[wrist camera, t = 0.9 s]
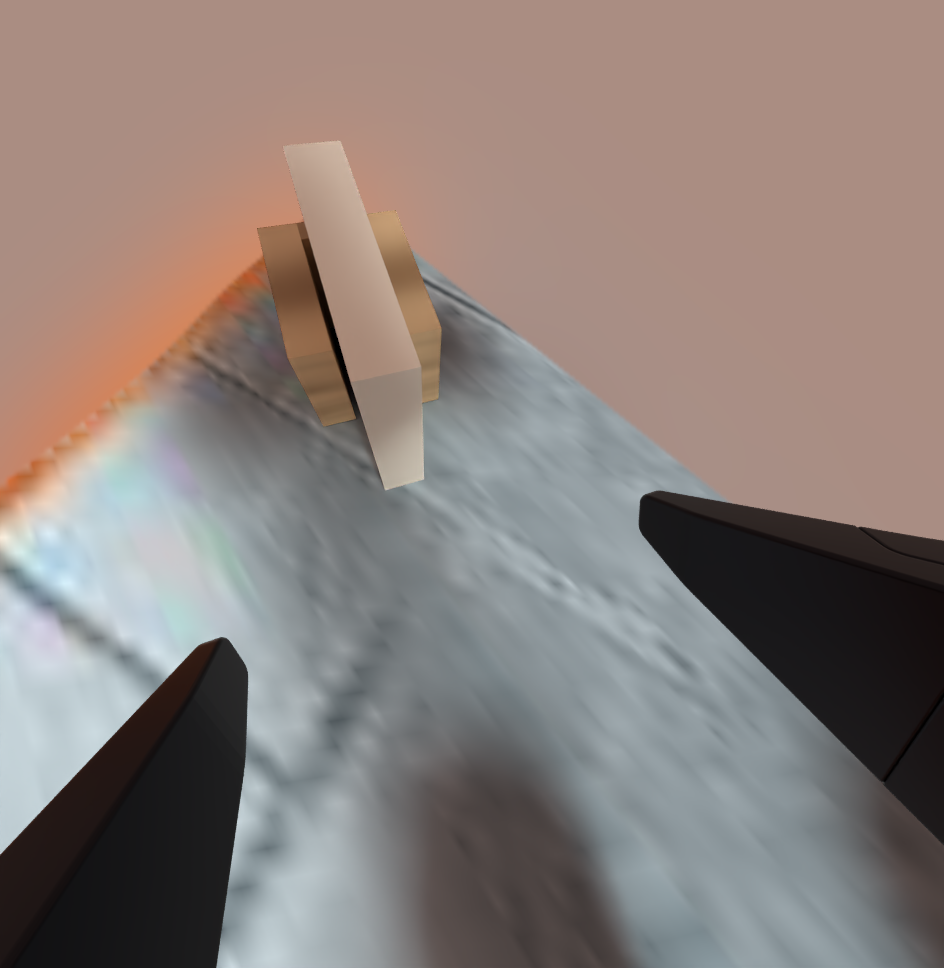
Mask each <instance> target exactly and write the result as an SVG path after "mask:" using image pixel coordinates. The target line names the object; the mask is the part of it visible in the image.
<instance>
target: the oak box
mask: <svg viewBox="0 0 944 968" xmlns="http://www.w3.org/2000/svg"><path fill="white" fill-rule="evenodd" d="M367 216H368V219H369V222H370V225H371V228H372V230H373V233H374V236H375V239H376V242H377V244H378V247H379V250H380V253H381V255H382V258H383V261H384V264H385V267H386V269H387V272H388V275H389V278H390V281H391V283H392V286H393V289H394V292H395V295H396V297H397V300H398V303H399V306H400V309H401V311H402V314H403V317H404V320H405V323H406V325H407V328H408V331H409V334H410V336H411V339H412V342H413V345H414V348H415V350H416V353H417V356H418V359H419V362H420V364H421V372H422V403H424V402H428V401H433V400H437V399H438V393H439V373H440V352H441V331H442V328H441V326H440V323H439V320H438V318H437V315H436V313H435V310H434V308H433V305H432V302H431V300H430V297H429V295H428V292H427V290H426V287H425V285H424V282H423V279H422V277H421V274H420V272H419V269H418V267H417V264H416V262H415V259H414V256H413V254H412V251H411V249H410V246H409V244H408V241H407V238H406V236H405V233H404V231H403V228H402V226H401V223H400V221H399V218H398V215H397V213H396V210H394V211H386V212H378V213H371V214H367ZM257 230H258V234H259V239H260V243H261V247H262V251H263V256H264V260H265V264H266V268H267V272H268V277H269V281H270V285H271V289H272V294H273V298H274V302H275V306H276V310H277V315H278V319H279V323H280V327H281V332H282V336H283V340H284V344H285V348H286V353H287V357H288V360H289V362H290V364H291V366H292V368H293V370H294V371H295V373H296V375H297V377H298V379H299V381H300V383H301V385H302V387H303V388H304V390H305V392H306V394H307V396H308V398H309V400H310V402H311V404H312V405H313V407H314V409H315V411H316V413H317V415H318V417H319V419H320V421H321V423H322V424H323V426H329V425H333V424H337V423H341V422H345V421H349V420H354V419H356V417H355V413H354V410H353V406H352V403H351V399H350V396H349V392H348V389H347V385H346V382H345V378H344V375H343V371H342V368H341V364H340V361H339V357H338V354H337V350H336V346H335V343H334V339H333V336H332V332H331V329H330V328H333V327H335V326H334V323H333V319H332V316H331V312H330V309H329V306H328V302H327V299H326V295H325V292H324V288H323V285H322V281H321V278H320V274H319V271H318V267H317V264H316V261H315V257H314V254H313V250H312V247H311V243H310V240H309V236H308V233H307V229H306V226H305V222H302V223H294V224H287V225H279V226H271V227H264V228H257Z"/></svg>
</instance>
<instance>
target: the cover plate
mask: <svg viewBox="0 0 944 968" xmlns="http://www.w3.org/2000/svg"><path fill="white" fill-rule="evenodd" d="M283 150H284V153H285V157H286V160H287V164H288V167H289V171H290V174H291V177H292V181H293V184H294V187H295V191H296V195H297V198H298V201H299V205H300V209H301V212H302V216H303V219H304V222H305V226H306V229H307V233H308V236H309V240H310V243H311V247H312V250H313V254H314V257H315V261H316V264H317V267H318V271H319V274H320V278H321V281H322V285H323V288H324V292H325V295H326V299H327V302H328V306H329V309H330V312H331V316H332V319H333V323H334V326H335V330H336V333H337V337H338V340H339V344H340V347H341V351H342V354H343V357H344V361H345V364H346V368H347V371H348V375H349V378H350V382H351V385H352V388H353V391H354V394H355V397H356V401H357V404H358V407H359V410H360V413H361V416H362V419H363V423H364V426H365V429H366V432H367V435H368V438H369V441H370V445H371V448H372V451H373V454H374V457H375V460H376V463H377V466H378V470H379V473H380V476H381V479H382V482H383V485H384V488H385V490H388V489H392V488H395V487H399V486H402V485H406V484H409V483H413V482H417V481H420V480H424V456H423V414H422V372H421V364H420V362H419V359H418V356H417V353H416V350H415V348H414V345H413V342H412V339H411V336H410V334H409V331H408V328H407V325H406V323H405V320H404V317H403V314H402V311H401V309H400V306H399V303H398V300H397V297H396V295H395V292H394V289H393V286H392V283H391V281H390V278H389V275H388V272H387V269H386V267H385V264H384V261H383V258H382V255H381V253H380V250H379V247H378V244H377V242H376V239H375V236H374V233H373V230H372V228H371V225H370V222H369V219H368V216H367V214H366V211H365V208H364V205H363V202H362V200H361V197H360V194H359V192H358V188H357V186H356V183H355V180H354V177H353V175H352V172H351V169H350V166H349V164H348V161H347V158H346V155H345V152H344V149H343V147H342V144H341V141H331V142H319V143H308V144H297V145H286V146H283Z"/></svg>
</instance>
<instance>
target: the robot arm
mask: <svg viewBox="0 0 944 968" xmlns="http://www.w3.org/2000/svg"><path fill="white" fill-rule="evenodd" d="M639 529H640V531H641V533H642V535H643V536H644V537H645V539H646V540H647V541H648V542H649V544H650V545H651V546H652V547H653V548H654V550H655V551H656V552H657V553H658V554H659V556H660V557H661V558H662V559H663V560H664V562H665V563H666V564H667V565H668V567H669V568H670V569H671V570H672V571H673V573H674V574H675V575H676V576H677V577H678V579H679V580H680V581H681V582H682V583H683V584H684V585H685V586H686V587H687V588H688V589H689V591H690V592H691V593H692V594H693V595H694V596H695V597H696V598H697V599H698V600H699V601H700V602H701V603H702V604H703V605H704V606H705V607H706V608H707V609H708V610H709V611H710V612H711V613H712V614H713V615H714V616H715V617H716V618H717V619H718V620H719V621H720V622H721V623H722V624H723V625H724V626H725V627H726V628H727V629H728V630H729V631H730V632H731V633H732V634H733V635H734V636H735V637H736V638H737V639H738V640H739V641H740V642H741V643H742V644H743V645H744V646H745V647H746V648H747V649H748V650H749V651H750V652H751V653H752V654H753V655H754V656H755V657H756V658H757V659H758V660H759V661H760V662H761V663H762V664H763V665H764V666H765V667H766V668H767V669H768V670H769V671H770V672H771V673H772V674H773V675H774V676H775V677H776V678H777V679H778V680H779V681H780V682H781V683H782V684H783V685H784V686H785V687H786V688H787V689H788V690H789V691H790V692H791V693H792V694H793V695H794V696H795V697H796V698H797V699H798V700H799V701H800V702H801V703H802V704H803V705H804V706H805V707H806V708H807V709H808V710H809V711H810V712H811V713H812V714H813V715H814V716H815V717H816V718H817V719H818V720H819V721H820V722H821V723H823V724H824V725H825V726H826V727H827V728H828V729H829V730H830V731H831V732H832V733H833V734H834V735H835V736H836V737H837V738H838V739H839V740H840V741H841V742H842V743H843V744H844V745H845V746H846V747H847V748H848V749H849V750H850V751H851V752H852V753H853V754H854V755H855V756H856V757H857V758H858V759H859V760H860V761H861V762H862V763H863V764H864V765H865V766H866V767H867V768H868V769H869V770H870V771H871V772H872V773H873V774H874V775H875V776H876V777H877V778H878V779H879V780H880V781H881V782H883V785H884V786H885V787H886V788H887V789H888V790H889V791H890V792H891V793H892V794H893V795H894V796H895V797H896V798H897V799H898V800H899V801H900V802H901V803H902V804H903V805H904V806H905V807H906V808H907V809H908V810H909V811H910V812H911V813H912V814H913V815H914V816H915V817H916V818H917V819H918V820H919V821H920V822H921V823H922V824H923V825H924V826H925V827H926V828H927V829H928V830H929V831H930V832H931V833H932V834H933V835H934V836H935V837H936V838H937V839H938V840H939V841H940V842H941V843H942V844H943V845H944V541H942V540H936V539H929V538H923V537H917V536H911V535H905V534H900V533H893V532H888V531H882V530H876V529H871V528H866V527H858V528H857V527H856V526H853V525H848V524H842V523H837V522H832V521H826V520H821V519H815V518H809V517H804V516H798V515H793V514H787V513H782V512H776V511H771V510H765V509H760V508H754V507H748V506H743V505H737V504H732V503H726V502H721V501H715V500H710V499H704V498H699V497H693V496H688V495H682V494H676V493H671V492H665V491H654V492H651V493H648V494H645V495H644V496H642V498H641V500H640V510H639ZM247 701H248V671H247V668H246V665H245V663H244V662H243V660H242V659H241V657H240V656H239V654H238V653H237V651H236V650H235V648H234V647H233V645H232V644H231V642H230V641H229V640H228V639H227V638H224V637H220V638H217V639H214V640H211V641H208V642H205V643H203V644H200V645H199V646H197V647H196V648H195V649H194V650H193V652H192V653H191V654H190V655H189V656H188V657H187V658H186V659H185V660H184V661H183V662H182V663H181V664H180V665H179V666H178V667H177V668H176V670H175V671H174V672H173V673H172V674H171V675H170V676H169V677H168V678H167V679H166V680H165V681H164V682H163V683H162V684H161V685H160V686H159V687H158V689H157V690H156V691H155V692H154V693H153V694H152V695H151V696H150V697H149V698H148V699H147V700H146V701H145V702H144V703H143V704H142V705H141V707H140V708H139V709H138V710H137V711H136V712H135V713H134V714H133V715H132V716H131V717H130V718H129V719H128V720H127V721H126V722H125V723H124V725H123V726H122V727H121V728H120V729H119V730H118V731H117V732H116V733H115V734H114V735H113V736H112V737H111V738H110V739H109V740H108V741H107V742H106V744H105V745H104V746H103V747H102V748H101V749H100V750H99V751H98V752H97V753H96V754H95V755H94V756H93V757H92V758H91V759H90V760H89V761H88V763H87V764H86V765H85V766H84V767H83V768H82V769H81V770H80V771H79V772H78V773H77V774H76V775H75V776H74V777H73V778H72V779H71V781H70V782H69V783H68V784H67V785H66V786H65V787H64V788H63V789H62V790H61V791H60V792H59V793H58V794H57V795H56V796H55V797H54V798H53V800H52V801H51V802H50V803H49V804H48V805H47V806H46V807H45V808H44V809H43V810H42V811H41V812H40V813H39V814H38V815H37V816H36V817H35V819H34V820H33V821H32V822H31V823H30V824H29V825H28V826H27V827H26V828H25V829H24V830H23V831H22V832H21V833H20V834H19V835H18V837H17V838H16V839H15V840H14V841H13V842H12V843H11V844H10V845H9V846H8V847H7V848H6V849H5V850H4V851H3V852H2V853H1V854H0V968H216V966H217V959H218V952H219V945H220V938H221V931H222V924H223V917H224V910H225V903H226V896H227V889H228V882H229V875H230V868H231V861H232V854H233V847H234V840H235V833H236V826H237V818H238V811H239V804H240V797H241V790H242V783H243V776H244V768H245V757H246V734H247Z"/></svg>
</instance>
